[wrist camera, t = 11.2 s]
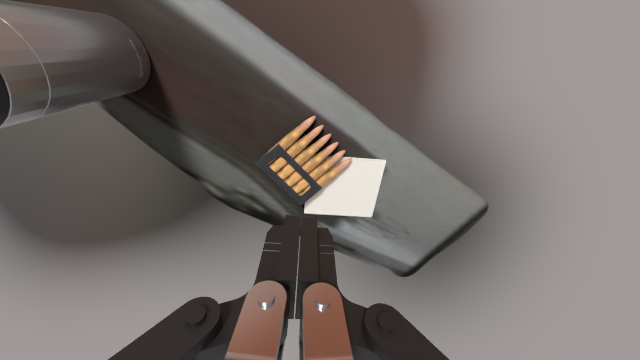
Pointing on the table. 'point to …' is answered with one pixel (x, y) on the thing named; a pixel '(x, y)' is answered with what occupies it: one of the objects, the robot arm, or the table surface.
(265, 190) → the table surface
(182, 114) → the table surface
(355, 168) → the mat
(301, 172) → the ammunition clip
